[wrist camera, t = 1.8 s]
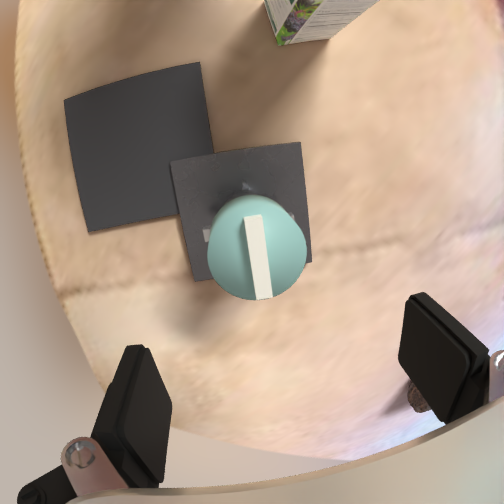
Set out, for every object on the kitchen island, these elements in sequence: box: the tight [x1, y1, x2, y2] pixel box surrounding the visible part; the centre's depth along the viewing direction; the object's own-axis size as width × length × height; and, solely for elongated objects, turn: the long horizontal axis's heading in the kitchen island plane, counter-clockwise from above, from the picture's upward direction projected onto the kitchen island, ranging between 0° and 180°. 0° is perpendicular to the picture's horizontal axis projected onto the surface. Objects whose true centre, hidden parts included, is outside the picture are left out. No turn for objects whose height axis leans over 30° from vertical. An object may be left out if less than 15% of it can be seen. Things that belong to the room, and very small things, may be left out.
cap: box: [207, 195, 307, 300], centre depth 20 cm, size 6×6×5 cm
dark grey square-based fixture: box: [170, 142, 312, 282], centre depth 26 cm, size 12×12×8 cm
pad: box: [64, 62, 214, 232], centre depth 26 cm, size 14×14×1 cm
